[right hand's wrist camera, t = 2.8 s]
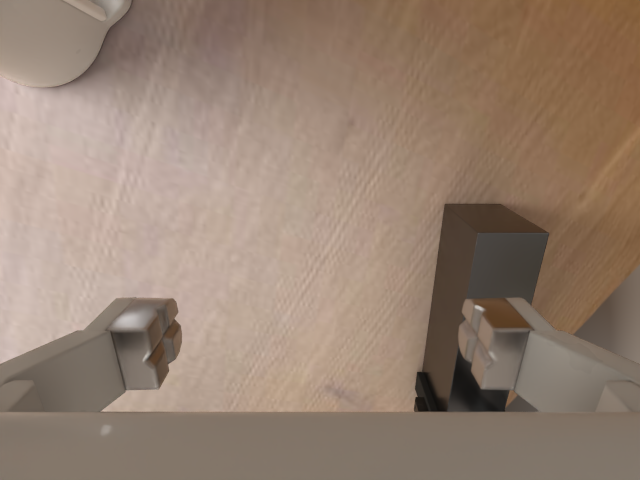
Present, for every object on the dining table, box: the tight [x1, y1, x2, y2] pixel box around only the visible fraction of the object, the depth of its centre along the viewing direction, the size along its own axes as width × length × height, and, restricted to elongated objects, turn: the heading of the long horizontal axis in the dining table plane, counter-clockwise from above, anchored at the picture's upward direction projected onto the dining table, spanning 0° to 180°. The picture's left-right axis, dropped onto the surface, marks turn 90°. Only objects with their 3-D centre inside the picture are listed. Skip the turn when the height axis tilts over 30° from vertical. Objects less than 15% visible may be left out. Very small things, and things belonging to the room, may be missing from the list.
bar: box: [422, 204, 549, 412], centre depth 38 cm, size 27×6×9 cm, turn 0°
